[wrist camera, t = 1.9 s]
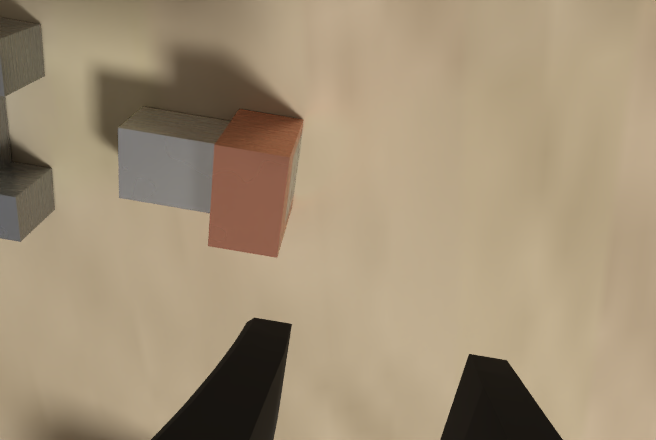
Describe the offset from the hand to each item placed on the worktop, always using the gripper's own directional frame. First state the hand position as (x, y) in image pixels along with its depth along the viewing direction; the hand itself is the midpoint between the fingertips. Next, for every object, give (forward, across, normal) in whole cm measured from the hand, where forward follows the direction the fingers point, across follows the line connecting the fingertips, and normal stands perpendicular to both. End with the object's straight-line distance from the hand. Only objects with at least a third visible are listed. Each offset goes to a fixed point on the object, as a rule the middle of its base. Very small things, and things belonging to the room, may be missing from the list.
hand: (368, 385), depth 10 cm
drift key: (+8, +4, 0) cm, 10 cm away
